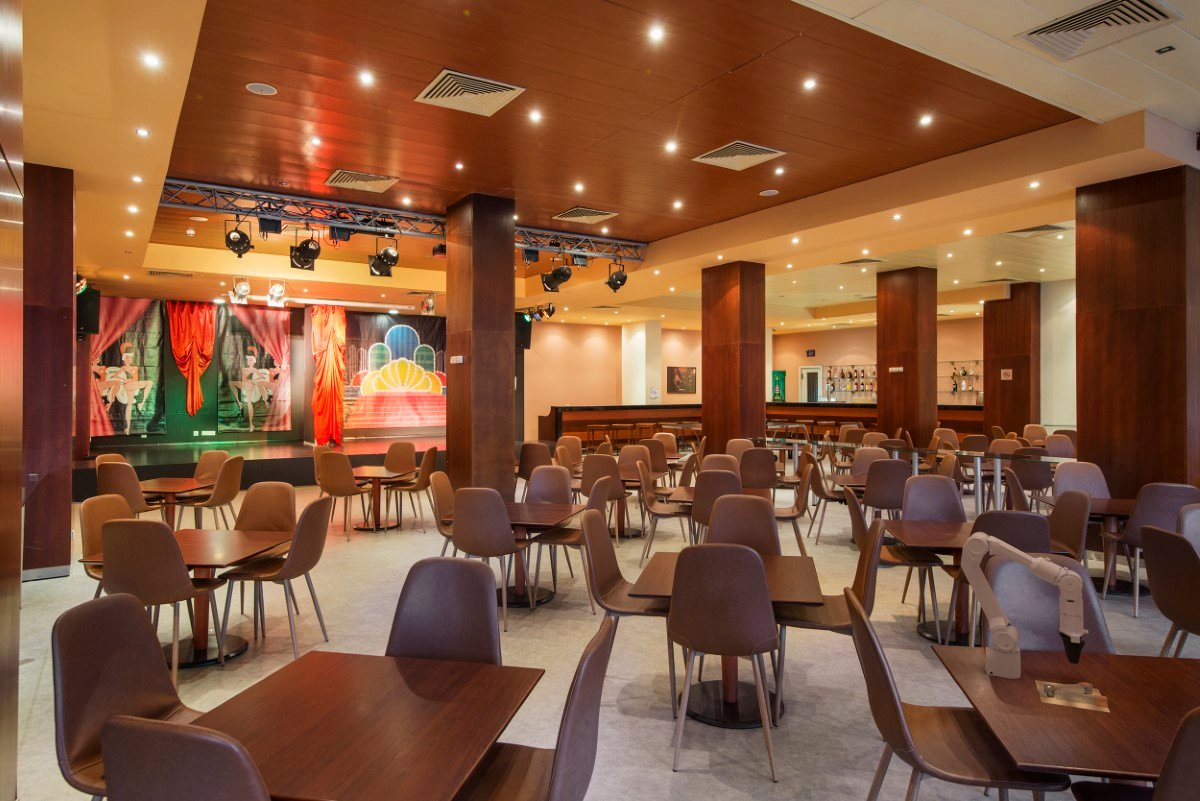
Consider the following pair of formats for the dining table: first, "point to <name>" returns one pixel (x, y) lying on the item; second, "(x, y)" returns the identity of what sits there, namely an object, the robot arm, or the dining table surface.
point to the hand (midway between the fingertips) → (1072, 660)
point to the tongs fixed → (1073, 696)
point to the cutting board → (1069, 703)
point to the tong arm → (1075, 688)
